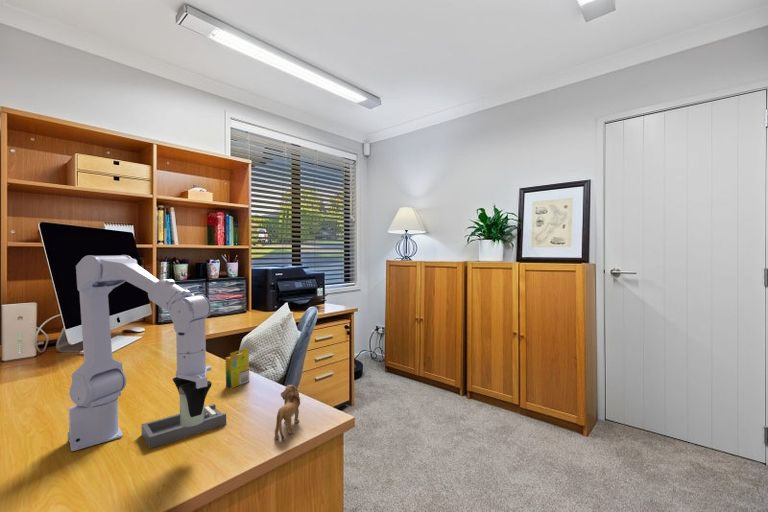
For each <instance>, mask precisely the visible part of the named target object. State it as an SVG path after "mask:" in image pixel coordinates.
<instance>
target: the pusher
mask: <svg viewBox="0 0 768 512" xmlns="http://www.w3.org/2000/svg"><path fill="white" fill-rule="evenodd" d="M206 406H207V407H205V406H204V418H209V417H213V416H216V413H215V412H214V411H213V410H212V409H211V408H210V407H209V405H206Z"/></svg>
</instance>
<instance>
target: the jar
mask: <svg viewBox="0 0 768 512" xmlns="http://www.w3.org/2000/svg"><path fill="white" fill-rule="evenodd" d="M187 384H191V382H190V383H186V384H183V385H187ZM183 385H181V386H183ZM181 386H180V387H179V392H178V394H179V393H180V395H179V414H180V425H181V426H183V427H191V426H195V425H198V424H200V423H202V422H203V421H204V407H205V405H204V406H203V410H202V414H201V415H198V416H195V417H191V416H190V414H189V409H188V403H187V399H186V396H185V394H184V392H183V390H182V388H181Z"/></svg>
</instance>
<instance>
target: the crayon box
mask: <svg viewBox="0 0 768 512" xmlns="http://www.w3.org/2000/svg"><path fill="white" fill-rule="evenodd" d="M224 360H225V387H226V388H229V389H233V388H235V387H239V386H240V385H243V384H246V383H249V382H250V361H249V347H247V348H243V349H240V350H235V351H233V352H230V353H229V356H227V357H225V359H224Z"/></svg>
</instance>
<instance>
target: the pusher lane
mask: <svg viewBox="0 0 768 512" xmlns="http://www.w3.org/2000/svg"><path fill="white" fill-rule="evenodd" d="M207 406H209V407H210V408H211V409H212V410H213V411H214V412H215V413H216V416H213V417H209V418H204V421H203V422H202V423H200V424H198V425H195V426H191V427H183V426H181V425H180V413H178V414H174V415H169V416H166V417H163V418H159V419H155V420H152V421H149V422H145V423H141V436H142V438H143V440H144V442H145V443H146V445H147V447H148V448H149V450H150V449H153V448H156V447H160V446H163V445H167V444H169V443H172V442H175V441H178V440H179V441H180V440H182V439H184V438H187V437H190V436H194V435H197V434H199V433H203V432H206V431H210V430H213V429H216V428H218V427H221V426H224V425H227V413H226V412H223V413H222V412H221V411H220V410H219V409H217V407H216V404H215V403H213V404H209V405H204V407H207Z"/></svg>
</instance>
